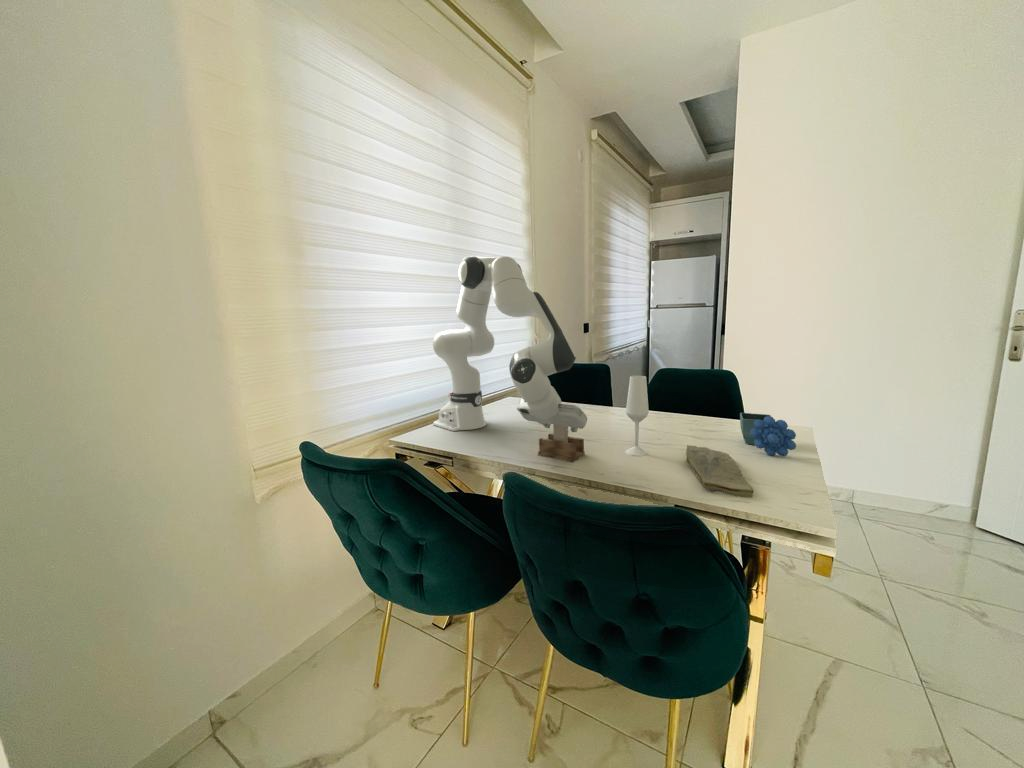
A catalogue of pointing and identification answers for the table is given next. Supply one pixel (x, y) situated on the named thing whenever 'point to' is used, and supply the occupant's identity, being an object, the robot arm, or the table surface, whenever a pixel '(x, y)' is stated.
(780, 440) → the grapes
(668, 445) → the table surface
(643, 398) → the champagne flute
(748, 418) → the flower pot
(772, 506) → the table surface
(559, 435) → the strip
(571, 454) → the wooden napkin holder
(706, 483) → the stone slab
